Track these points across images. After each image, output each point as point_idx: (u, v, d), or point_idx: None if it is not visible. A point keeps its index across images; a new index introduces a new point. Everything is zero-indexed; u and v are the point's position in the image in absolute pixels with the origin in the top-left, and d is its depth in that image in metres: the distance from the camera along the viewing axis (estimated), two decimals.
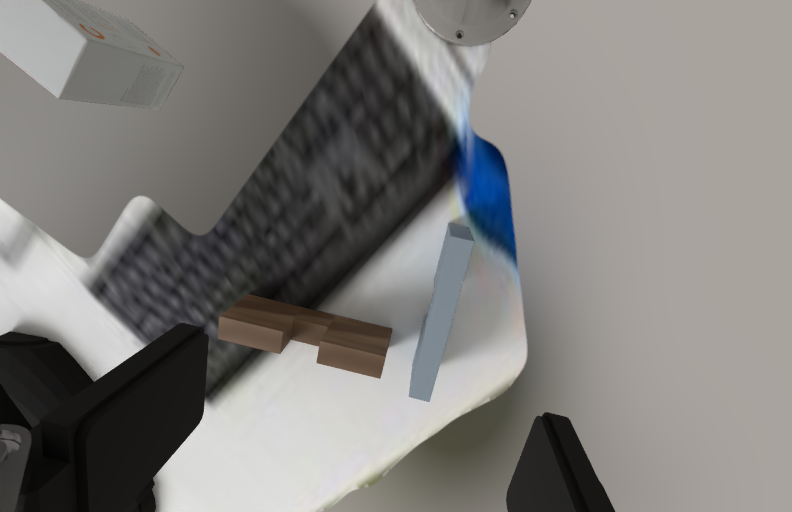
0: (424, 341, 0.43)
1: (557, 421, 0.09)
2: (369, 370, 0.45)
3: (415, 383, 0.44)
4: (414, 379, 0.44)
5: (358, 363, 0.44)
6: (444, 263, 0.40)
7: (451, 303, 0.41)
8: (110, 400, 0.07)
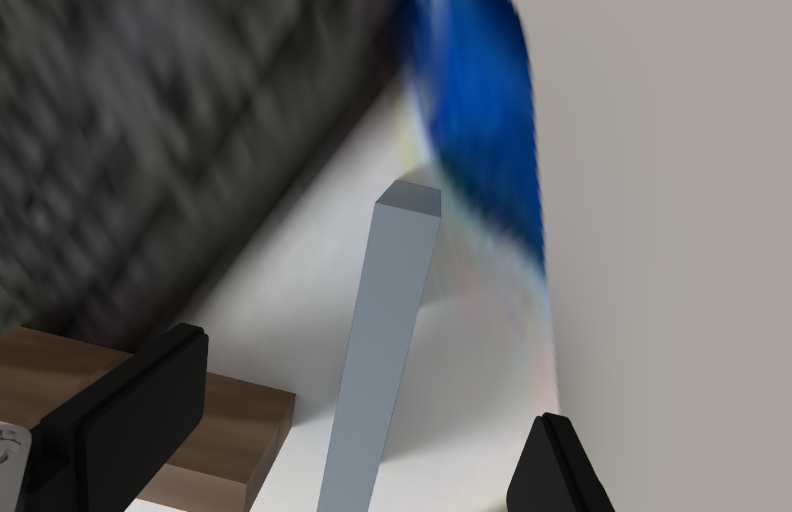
0: (330, 457, 0.18)
1: (557, 421, 0.09)
2: (215, 509, 0.20)
3: None
4: None
5: (192, 495, 0.20)
6: (363, 276, 0.15)
7: (387, 375, 0.16)
8: (110, 400, 0.07)
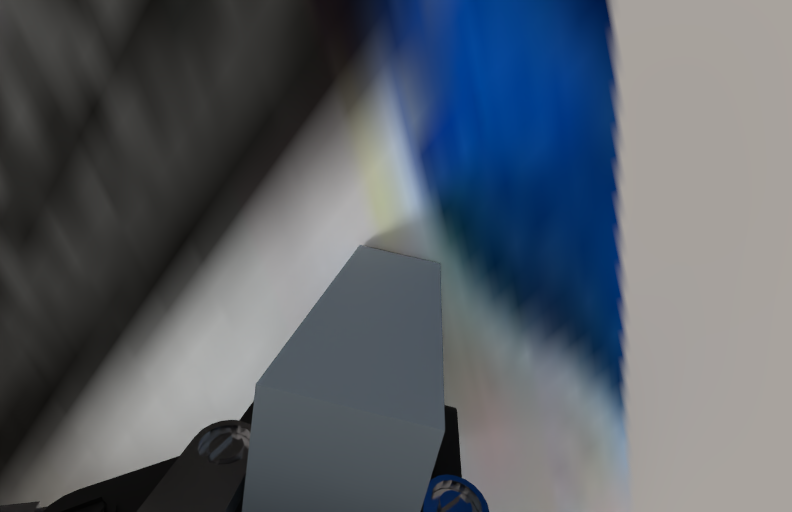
0: None
1: None
2: None
3: None
4: None
5: None
6: None
7: None
8: None
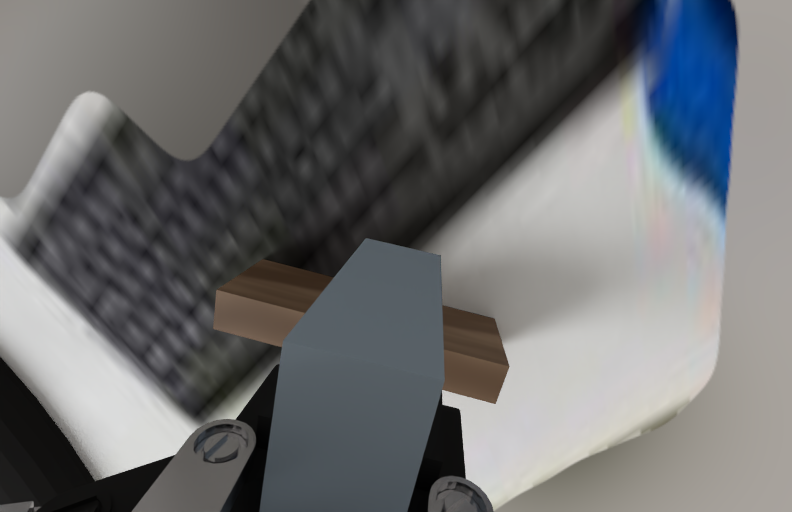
0: None
1: None
2: (476, 389, 0.26)
3: None
4: None
5: (459, 377, 0.25)
6: (268, 493, 0.07)
7: None
8: None
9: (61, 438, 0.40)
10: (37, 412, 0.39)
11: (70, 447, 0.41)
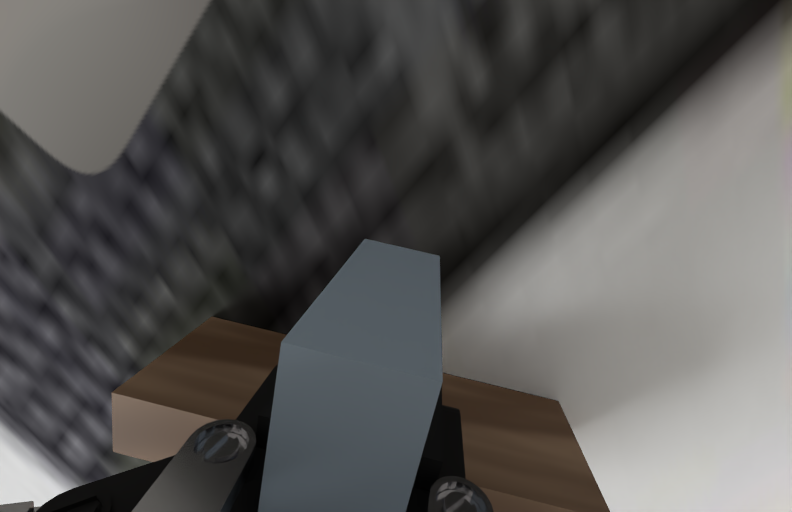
0: None
1: None
2: None
3: None
4: None
5: None
6: (266, 493, 0.07)
7: None
8: None
9: None
10: None
11: None
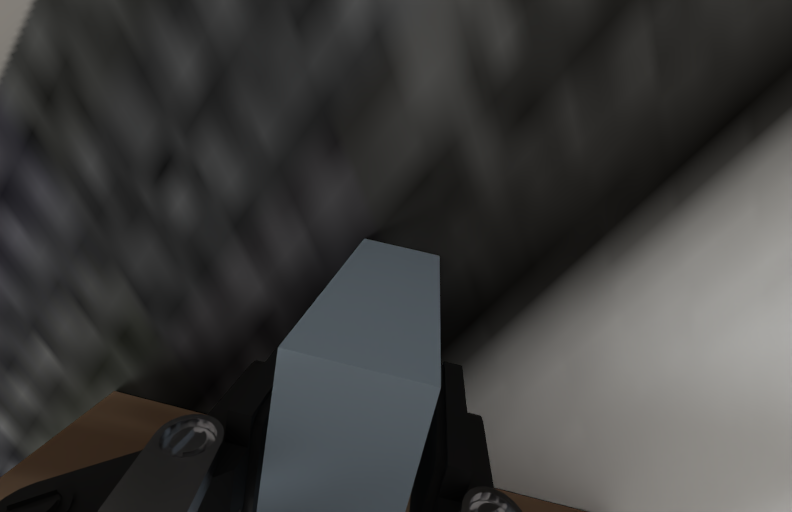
0: None
1: (449, 367, 0.11)
2: None
3: None
4: None
5: None
6: (265, 498, 0.07)
7: None
8: (271, 394, 0.08)
9: None
10: None
11: None
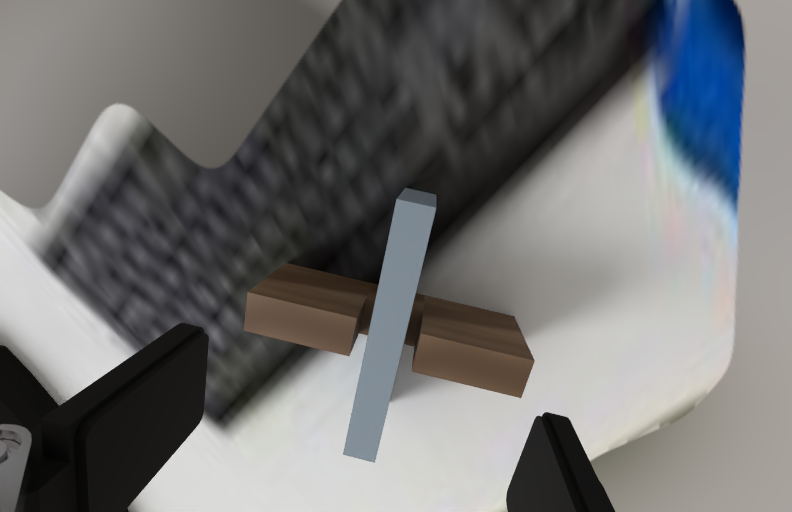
0: (362, 370, 0.27)
1: (557, 421, 0.09)
2: (502, 384, 0.26)
3: (352, 434, 0.29)
4: (350, 428, 0.28)
5: (485, 372, 0.26)
6: (388, 245, 0.24)
7: (402, 311, 0.25)
8: (110, 400, 0.07)
9: None
10: None
11: None
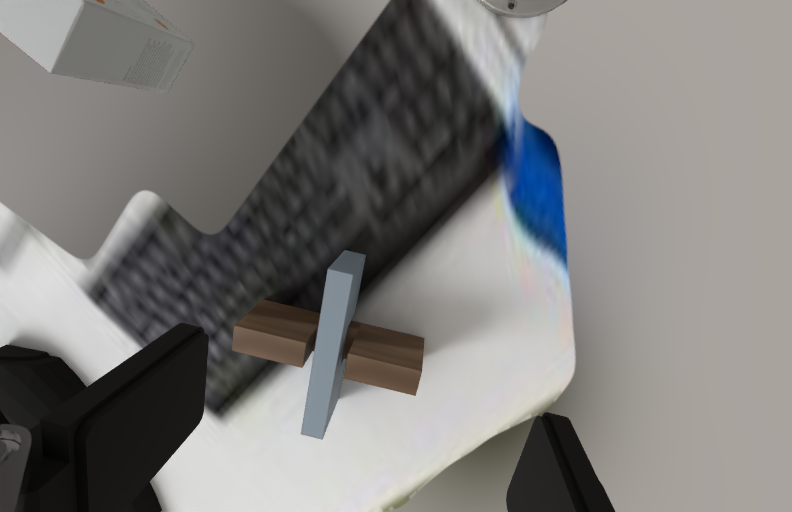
0: (311, 377, 0.40)
1: (557, 421, 0.09)
2: (403, 386, 0.40)
3: (306, 420, 0.42)
4: (304, 416, 0.42)
5: (391, 379, 0.39)
6: (324, 297, 0.38)
7: (335, 338, 0.39)
8: (110, 400, 0.07)
9: None
10: None
11: None
